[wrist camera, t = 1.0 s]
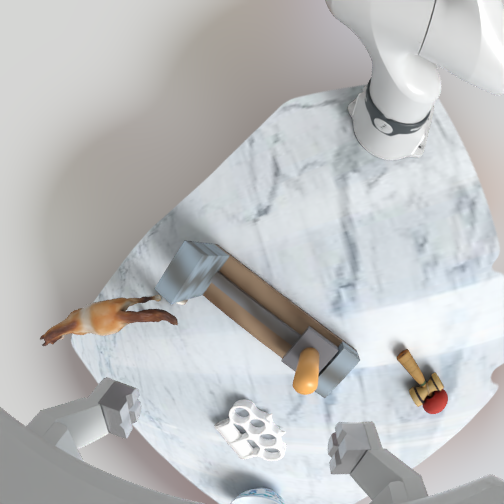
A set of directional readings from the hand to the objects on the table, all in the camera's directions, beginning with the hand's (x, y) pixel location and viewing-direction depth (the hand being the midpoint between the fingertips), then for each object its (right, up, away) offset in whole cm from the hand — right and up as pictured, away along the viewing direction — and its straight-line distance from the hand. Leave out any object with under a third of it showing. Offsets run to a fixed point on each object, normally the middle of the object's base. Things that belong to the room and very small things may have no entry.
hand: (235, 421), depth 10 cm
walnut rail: (+5, -7, +46) cm, 47 cm away
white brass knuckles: (+1, -35, +47) cm, 58 cm away
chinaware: (+4, -60, +45) cm, 75 cm away
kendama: (+37, -21, +38) cm, 57 cm away
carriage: (+12, -12, +41) cm, 44 cm away
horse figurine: (-28, -11, +54) cm, 62 cm away
